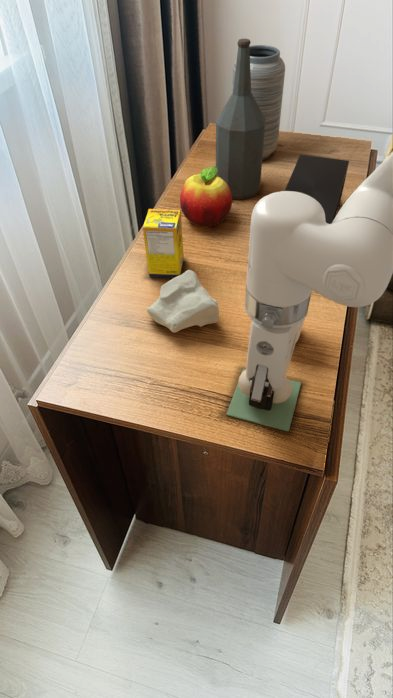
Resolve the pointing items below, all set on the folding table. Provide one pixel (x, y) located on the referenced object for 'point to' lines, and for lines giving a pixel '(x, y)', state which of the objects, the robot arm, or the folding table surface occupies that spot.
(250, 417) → the mat
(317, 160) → the long dark rectangular box
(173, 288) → the decorative stone
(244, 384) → the cream rounded oblong block
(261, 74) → the vase
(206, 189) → the fruit
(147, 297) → the folding table surface
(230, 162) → the bottle
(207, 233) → the folding table surface
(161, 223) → the supplement box
